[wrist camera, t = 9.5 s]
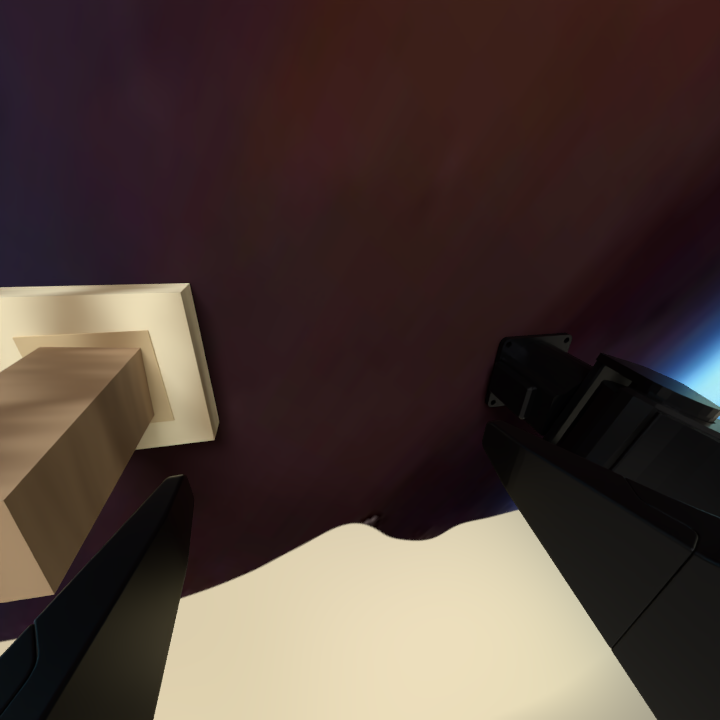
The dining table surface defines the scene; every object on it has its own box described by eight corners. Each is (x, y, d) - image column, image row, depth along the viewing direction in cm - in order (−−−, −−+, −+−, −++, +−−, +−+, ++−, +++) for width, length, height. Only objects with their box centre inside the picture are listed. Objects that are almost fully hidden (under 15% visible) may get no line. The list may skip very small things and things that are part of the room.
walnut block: (140, 347, 17) (3, 500, 9) (154, 415, 19) (54, 594, 11) (39, 347, 16) (-235, 522, 7) (65, 418, 18) (-128, 622, 9)
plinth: (189, 283, 18) (179, 293, 16) (219, 421, 23) (214, 441, 21) (-24, 288, 16) (-62, 299, 14) (56, 439, 21) (34, 463, 19)
